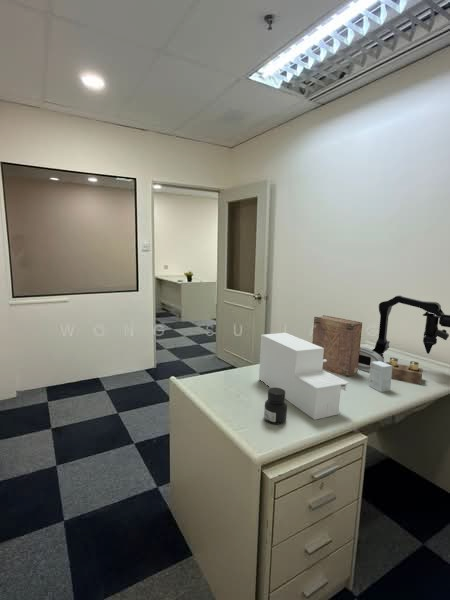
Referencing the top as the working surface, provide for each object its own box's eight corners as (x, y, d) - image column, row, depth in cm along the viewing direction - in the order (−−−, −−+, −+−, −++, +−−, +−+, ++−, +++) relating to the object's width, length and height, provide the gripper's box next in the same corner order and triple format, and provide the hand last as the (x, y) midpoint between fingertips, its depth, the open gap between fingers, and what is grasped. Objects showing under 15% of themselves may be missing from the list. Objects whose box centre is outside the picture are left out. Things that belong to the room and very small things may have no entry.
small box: (390, 390, 160) (393, 365, 158) (380, 392, 158) (383, 367, 156) (377, 384, 167) (380, 360, 166) (368, 385, 165) (370, 361, 163)
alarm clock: (340, 364, 198) (341, 344, 196) (345, 362, 202) (346, 342, 200) (378, 375, 181) (380, 353, 179) (383, 372, 185) (385, 351, 183)
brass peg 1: (388, 369, 179) (389, 358, 179) (389, 367, 183) (390, 357, 182) (396, 370, 177) (397, 360, 176) (397, 368, 181) (398, 358, 180)
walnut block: (382, 376, 179) (384, 366, 178) (385, 371, 187) (386, 361, 186) (420, 384, 169) (421, 373, 168) (421, 379, 177) (422, 368, 176)
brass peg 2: (408, 373, 174) (409, 362, 173) (409, 371, 177) (410, 360, 176) (417, 375, 172) (418, 364, 171) (417, 372, 175) (419, 362, 174)
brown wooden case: (310, 364, 196) (313, 316, 192) (319, 361, 202) (322, 314, 197) (349, 377, 176) (353, 324, 172) (357, 373, 182) (362, 322, 178)
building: (348, 413, 136) (353, 356, 132) (314, 421, 128) (318, 361, 125) (286, 375, 176) (289, 332, 173) (257, 380, 169) (259, 334, 165)
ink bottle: (260, 414, 132) (261, 386, 131) (280, 412, 134) (282, 385, 133) (269, 426, 123) (270, 397, 121) (290, 424, 125) (292, 395, 123)
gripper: (449, 329, 167) (445, 358, 169) (448, 324, 182) (444, 350, 185) (424, 326, 173) (421, 354, 175) (425, 321, 188) (422, 346, 191)
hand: (428, 351), depth 181 cm, fingers open, 9 cm apart
